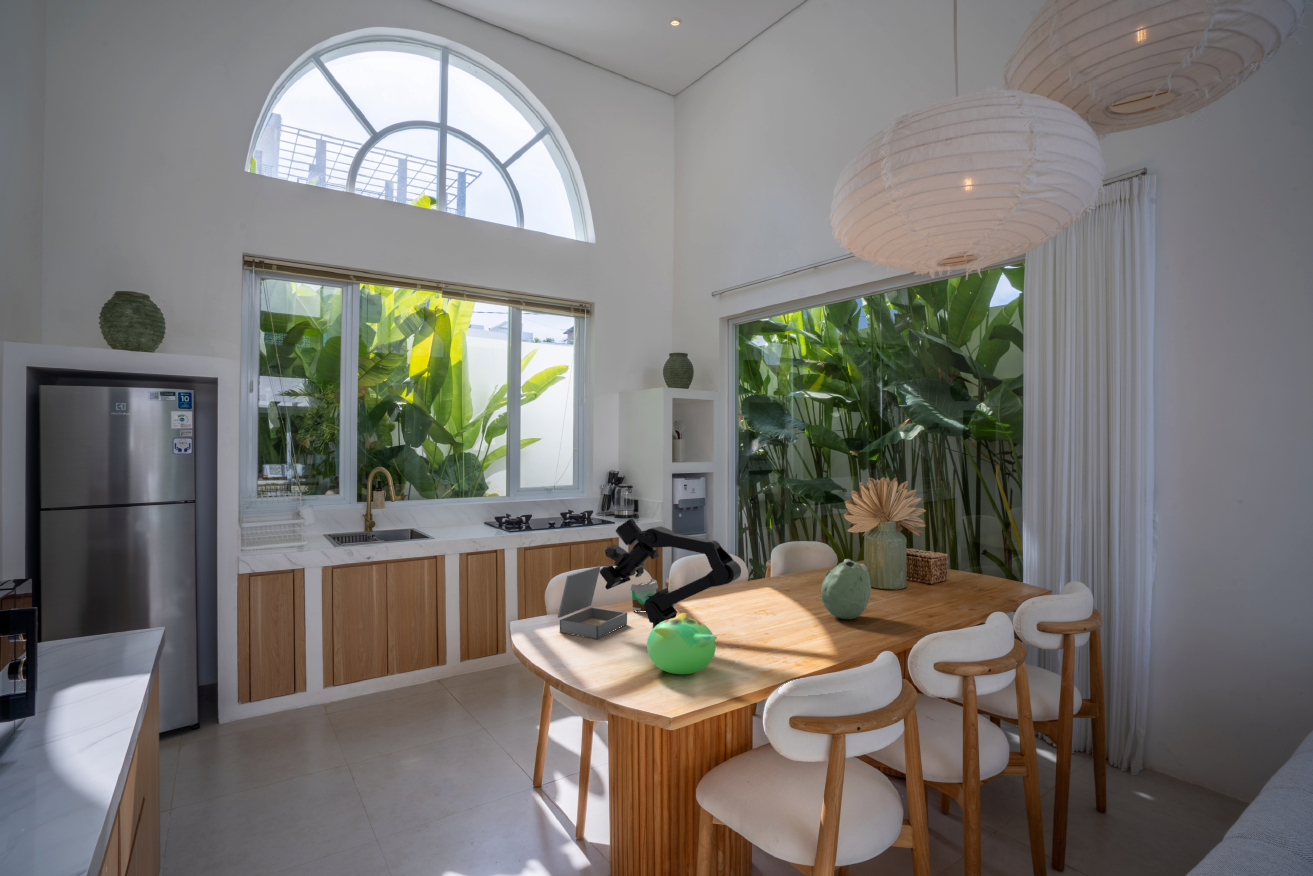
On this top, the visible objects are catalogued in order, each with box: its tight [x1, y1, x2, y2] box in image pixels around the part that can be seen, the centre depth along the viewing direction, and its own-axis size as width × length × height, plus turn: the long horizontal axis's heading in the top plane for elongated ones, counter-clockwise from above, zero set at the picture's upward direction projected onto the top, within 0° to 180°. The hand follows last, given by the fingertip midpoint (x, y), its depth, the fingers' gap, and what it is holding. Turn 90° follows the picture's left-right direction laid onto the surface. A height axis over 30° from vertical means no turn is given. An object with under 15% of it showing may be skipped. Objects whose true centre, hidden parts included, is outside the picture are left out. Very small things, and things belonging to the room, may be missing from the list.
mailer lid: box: [557, 565, 601, 618], centre depth 208 cm, size 14×18×1 cm
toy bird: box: [646, 612, 717, 675], centre depth 167 cm, size 18×17×15 cm
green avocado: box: [820, 558, 872, 620], centre depth 220 cm, size 16×19×20 cm
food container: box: [630, 578, 659, 611], centre depth 228 cm, size 12×6×10 cm, turn 143°
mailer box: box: [559, 606, 628, 640], centre depth 205 cm, size 14×18×4 cm
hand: (606, 588), depth 203 cm, fingers closed
